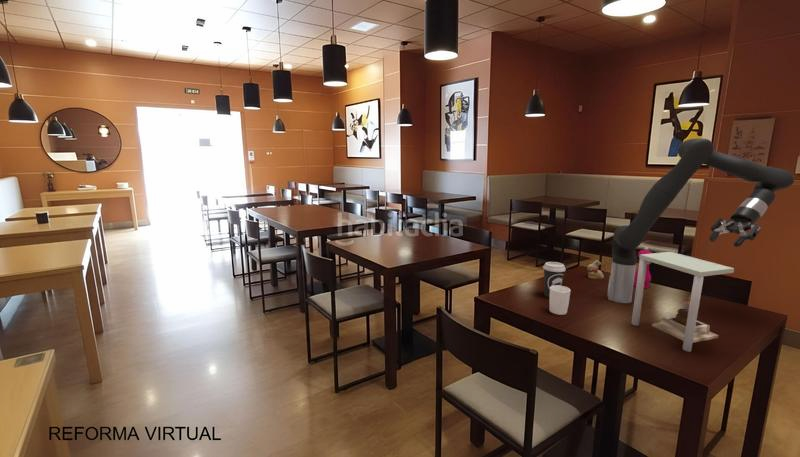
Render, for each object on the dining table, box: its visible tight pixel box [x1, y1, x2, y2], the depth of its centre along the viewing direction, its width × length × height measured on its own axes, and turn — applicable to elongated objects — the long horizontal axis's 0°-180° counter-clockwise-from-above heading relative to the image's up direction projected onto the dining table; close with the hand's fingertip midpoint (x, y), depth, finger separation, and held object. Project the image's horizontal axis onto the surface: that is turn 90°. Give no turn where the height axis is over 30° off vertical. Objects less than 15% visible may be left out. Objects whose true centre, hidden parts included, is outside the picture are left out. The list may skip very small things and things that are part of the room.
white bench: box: [631, 251, 735, 353], centre depth 136 cm, size 15×22×28 cm
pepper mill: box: [633, 246, 653, 289], centre depth 186 cm, size 7×7×20 cm
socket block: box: [651, 315, 719, 343], centre depth 140 cm, size 14×14×4 cm
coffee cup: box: [542, 261, 567, 298], centre depth 174 cm, size 10×10×15 cm
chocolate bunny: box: [586, 259, 605, 280], centre depth 200 cm, size 6×8×10 cm
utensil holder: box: [675, 295, 691, 326], centre depth 139 cm, size 6×6×12 cm
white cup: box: [548, 285, 572, 316], centre depth 157 cm, size 8×8×10 cm
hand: (723, 243), depth 146 cm, fingers open, 8 cm apart
